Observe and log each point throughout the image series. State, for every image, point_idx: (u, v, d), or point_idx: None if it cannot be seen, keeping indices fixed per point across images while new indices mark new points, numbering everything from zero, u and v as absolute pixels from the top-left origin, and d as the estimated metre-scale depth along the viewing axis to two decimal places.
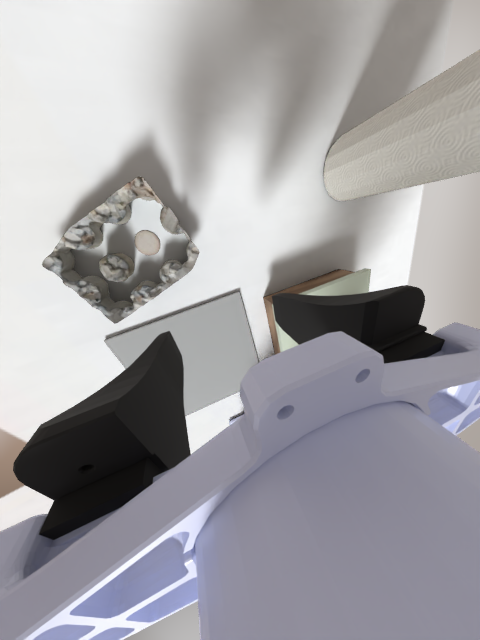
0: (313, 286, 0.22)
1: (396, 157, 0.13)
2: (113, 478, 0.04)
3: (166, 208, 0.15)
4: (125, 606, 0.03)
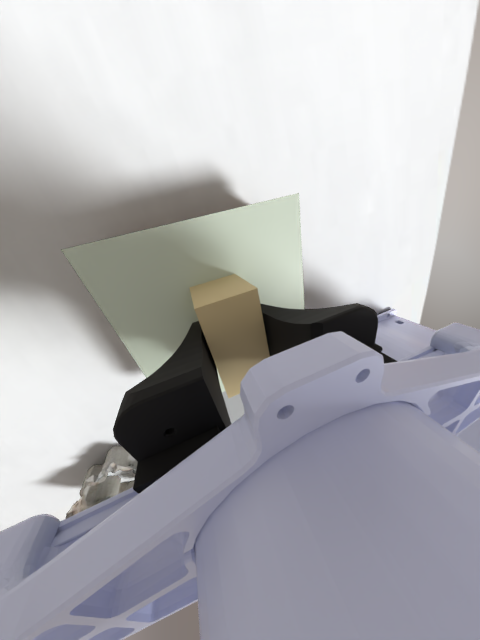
0: None
1: None
2: (190, 442, 0.05)
3: (86, 486, 0.18)
4: (125, 606, 0.03)
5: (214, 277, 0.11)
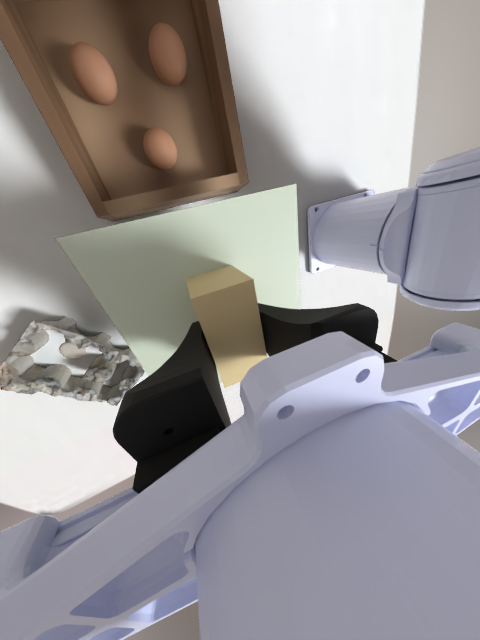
0: None
1: None
2: (190, 442, 0.05)
3: (11, 354, 0.16)
4: (125, 606, 0.03)
5: (211, 268, 0.11)
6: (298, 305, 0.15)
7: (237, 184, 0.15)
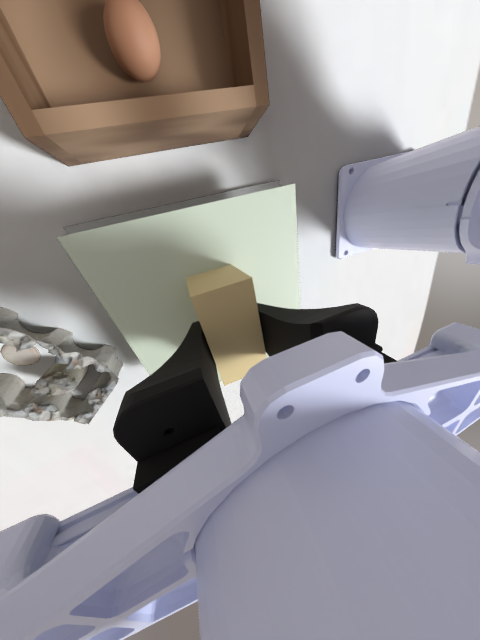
0: None
1: None
2: (190, 442, 0.05)
3: None
4: (125, 606, 0.03)
5: (211, 267, 0.11)
6: (297, 304, 0.15)
7: (252, 106, 0.10)
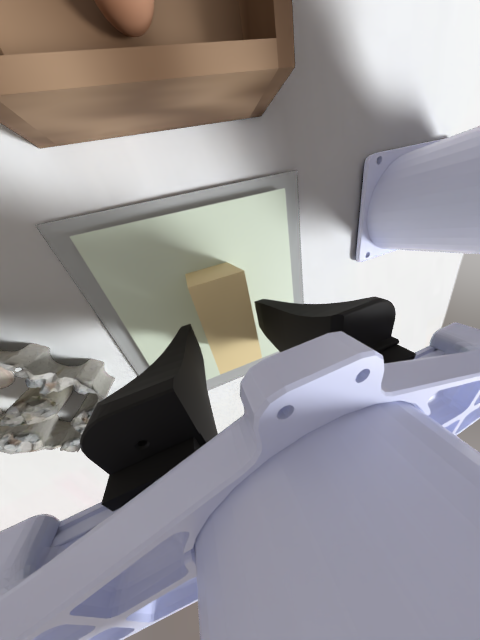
0: None
1: None
2: (164, 454, 0.05)
3: None
4: (125, 606, 0.03)
5: (208, 264, 0.12)
6: (291, 301, 0.15)
7: (273, 68, 0.08)
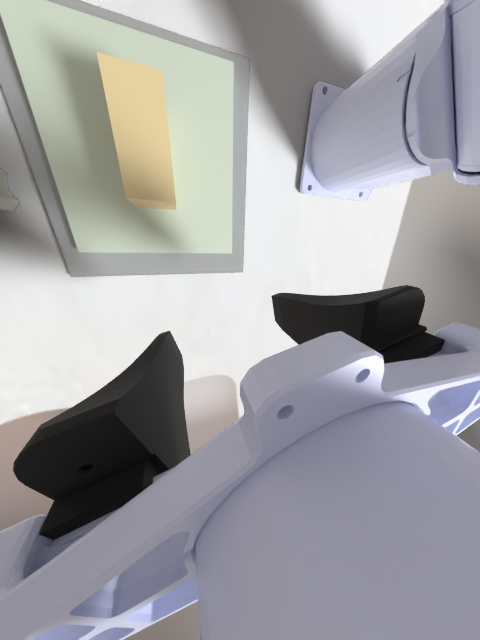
0: None
1: None
2: (113, 478, 0.04)
3: None
4: (125, 606, 0.03)
5: None
6: (230, 197, 0.16)
7: None
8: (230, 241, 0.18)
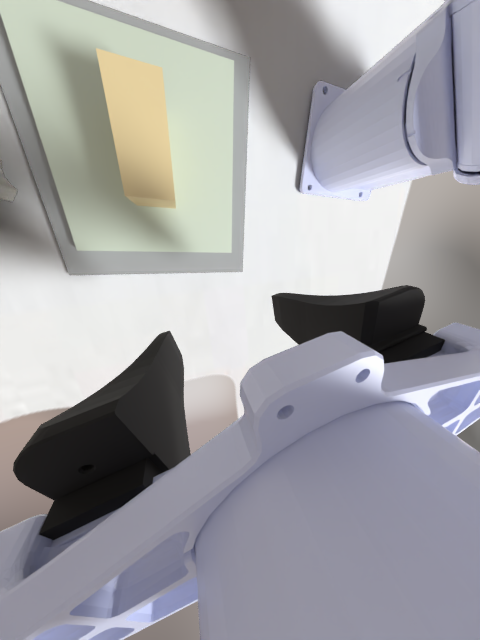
0: None
1: None
2: (113, 478, 0.04)
3: None
4: (125, 606, 0.03)
5: None
6: (229, 196, 0.16)
7: None
8: (229, 240, 0.18)
